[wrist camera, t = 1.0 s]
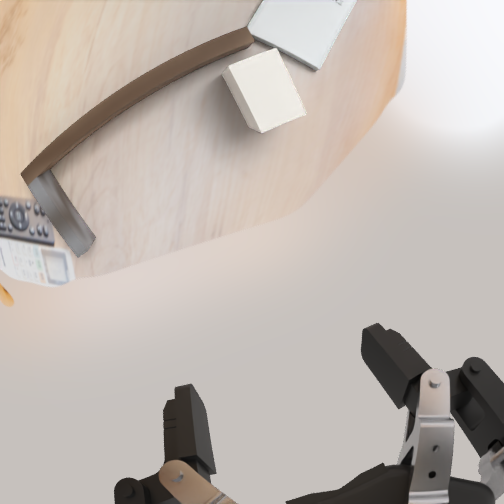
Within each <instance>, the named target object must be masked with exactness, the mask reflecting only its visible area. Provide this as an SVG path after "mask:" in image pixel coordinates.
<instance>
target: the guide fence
mask: <svg viewBox="0 0 504 504" xmlns="http://www.w3.org/2000/svg"><path fill="white" fill-rule="evenodd" d="M254 41H255V40H254V39H253V37H252V35H251V33H250V31H249V29H248V27H244V28H241V29H238V30H235V31H233V32H230V33H228V34H225V35H222V36H220V37H218V38H215V39H213V40H210V41H208V42H206V43H203V44H201V45H199V46H197V47H195V48H193V49H190V50H188V51H186V52H184V53H182V54H180V55H178V56H176V57H174V58H172V59H170V60H168V61H167V62H165V63H163V64H161V65H159V66H157V67H156V68H154V69H152V70H150V71H149V72H147V73H145V74H144V75H142V76H140V77H139V78H137V79H135V80H134V81H132V82H130V83H129V84H127V85H126V86H124V87H123V88H121V89H120V90H118V91H117V92H115V93H114V94H112V95H111V96H109V97H108V98H106V99H105V100H104V101H102V102H101V103H100V104H98V105H97V106H95V107H94V108H93V109H91V110H90V111H89V112H88V113H86V114H85V115H84V116H82V117H81V118H80V119H79V120H77V121H76V122H75V123H74V124H72V125H71V126H70V127H69V128H68V129H67V130H65V131H64V132H63V133H62V134H61V135H60V136H58V137H57V138H56V139H55V140H54V141H53V142H52V143H51V144H50V145H49V146H47V147H46V148H45V149H44V150H43V151H42V152H41V153H40V154H39V155H38V156H37V157H36V158H35V159H34V160H33V161H32V162H31V163H30V164H29V165H28V166H27V167H26V168H25V169H24V170H23V171H22V173H21V176H22V178H23V179H24V181H25V183H26V184H27V186H28V188H29V189H30V191H31V192H32V194H33V195H34V197H35V199H36V200H37V202H38V203H39V205H40V206H41V208H42V209H43V211H44V212H45V214H46V215H47V217H48V218H49V220H50V221H51V222H52V224H53V225H54V227H55V228H56V229H57V231H58V232H59V233H60V235H61V236H62V238H63V239H64V240H65V242H66V243H67V244H68V246H69V247H70V248H71V249H72V251H73V252H74V253H75V255H76V256H77V257H80V256H81V255H83V254H84V253H85V252H87V251H88V250H89V248H90V246H91V245H92V243H93V241H94V240H95V238H96V237H95V236H94V234H93V233H92V231H91V230H90V229H89V227H88V226H87V225H86V223H85V222H84V220H83V219H82V218H81V216H80V215H79V213H78V212H77V210H76V209H75V207H74V206H73V205H72V203H71V202H70V200H69V199H68V197H67V196H66V194H65V192H64V191H63V189H62V188H61V186H60V185H59V183H58V182H57V180H56V178H55V177H54V175H53V174H52V172H51V170H50V169H51V168H52V167H53V166H54V165H55V164H56V163H57V162H58V161H59V160H61V159H62V158H63V157H64V156H65V155H66V154H68V153H69V152H70V151H71V150H72V149H73V148H75V147H76V146H77V145H78V144H80V143H81V142H82V141H83V140H85V139H86V138H87V137H89V136H90V135H91V134H92V133H94V132H95V131H96V130H98V129H99V128H100V127H102V126H103V125H105V124H106V123H107V122H109V121H110V120H112V119H113V118H114V117H116V116H117V115H119V114H120V113H122V112H123V111H125V110H126V109H128V108H129V107H131V106H133V105H134V104H136V103H137V102H139V101H140V100H142V99H144V98H145V97H147V96H149V95H150V94H152V93H154V92H155V91H157V90H159V89H161V88H162V87H164V86H166V85H168V84H170V83H171V82H173V81H175V80H177V79H179V78H181V77H183V76H185V75H187V74H189V73H191V72H193V71H195V70H197V69H199V68H201V67H203V66H205V65H207V64H210V63H212V62H214V61H216V60H219V59H221V58H223V57H226V56H228V55H230V54H233V53H235V52H238V51H240V50H243V49H245V48H248V47H249V46H250V45H251V44H252V43H253V42H254Z"/></svg>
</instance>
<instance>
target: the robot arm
mask: <svg viewBox="0 0 504 504" xmlns="http://www.w3.org/2000/svg"><path fill="white" fill-rule="evenodd" d="M361 354H362V358H363V360H364V362H365V363H366V365H367V366H368V367H369V369H370V370H371V371H372V373H373V374H374V376H375V377H376V378H377V380H378V381H379V383H380V384H381V385H382V387H383V388H384V390H385V391H386V392H387V394H388V395H389V397H390V398H391V399H392V400H393V402H394V404H395V405H396V406H397V408H398V409H400V408H402V407H403V406H405V405H406V406H407V408H408V413H407V421H406V428H405V435H404V441H403V446H402V449H401V452H400V455H399V458H398V463H397V465H389V466H385V465H384V463H382V464H380V465H378V466H376V467H374V468H372V469H370V470H367V471H365V472H363V473H361V474H360V475H358V476H357V477H356V478H354V479H353V480H352V481H350V482H349V483H347V484H346V485H345V486H343V487H342V488H340V489H338V490H333V491H327V492H320V493H313V494H308V495H305V496H302V497H299V498H296V499H292V500H289V501H286V504H495V500H496V499H497V498H499V497H500V496H501V495H502V494H503V493H504V383H503V382H502V381H501V380H500V378H499V377H498V376H497V375H496V374H495V373H494V372H493V370H492V369H491V368H490V367H489V366H488V365H487V364H486V363H485V361H483V360H482V359H480V358H478V357H471V358H468V359H467V360H466V361H465V362H464V364H463V366H462V367H461V368H458V369H455V370H451V371H447V372H444V371H443V370H440V369H432V368H431V367H430V366H429V365H428V364H427V363H426V362H425V360H424V359H423V358H422V357H421V356H420V355H419V354H418V353H417V352H416V351H415V349H414V348H413V347H411V345H410V344H409V343H408V342H406V340H405V339H404V338H403V337H402V336H401V334H400V333H398V332H396V331H394V330H392V329H389V330H387V331H386V330H385V329H384V328H383V327H382V326H381V325H380V324H379V323H376V324H374V325H371V326H369V327H367V328H364V329H363V331H362V344H361ZM450 413H451V414H452V416H453V417H454V418H455V420H456V421H457V423H458V424H459V426H460V427H461V428H462V430H463V431H464V433H465V434H466V436H467V438H468V439H469V441H470V442H471V444H472V445H473V447H474V448H475V450H476V451H477V453H478V455H479V456H480V458H481V459H480V462H479V470H478V472H479V474H480V475H481V482H475V481H470V480H465V479H460V478H455V477H451V476H450V474H451V466H452V456H453V444H454V420H453V419H451V418H450ZM163 418H164V419H163V420H164V424H163V425H164V452H165V461H164V464H163V466H162V467H161V468H160V470H159V471H158V472H157V473H156V474H154V475H152V476H149V477H147V478H144V479H141V480H139V481H138V480H136V479H133V478H124V479H121V480H120V481H119V482H118V483H117V484H116V486H115V489H114V498H115V504H237V503H236V502H235V501H233V500H232V499H230V498H229V497H228V496H226V495H225V494H224V493H222V492H221V491H219V490H218V489H217V488H216V487H214V486H213V485H212V484H211V480H210V475H212V474H216V468H215V463H214V458H213V452H212V446H211V440H210V433H209V427H208V420H207V413H206V409H205V406H204V404H203V402H202V400H201V398H200V397H199V395H198V393H197V392H196V390H195V388H194V387H193V385H192V384H188V385H183V386H178V387H175V399H172V400H168V401H167V403H166V405H165V408H164V410H163Z"/></svg>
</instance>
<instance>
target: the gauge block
mask: <svg viewBox="0 0 504 504" xmlns="http://www.w3.org/2000/svg"><path fill="white" fill-rule="evenodd" d="M222 76H223V78H224V80H225V82H226V84H227V85H228V87H229V89H230V91H231V93H232V95H233V97H234V99H235V101H236V103H237V105H238V107H239V109H240V111H241V113H242V115H243V117H244V119H245V121H246V123H247V125H248V127H249V128H251V129H254V130H256V131H258V132H260V133H264V132H266V131H268V130H271V129H273V128H275V127H277V126H280V125H282V124H284V123H287V122H289V121H291V120H294V119H296V118H299V117H301V116H303V115H306V114H307V113H306V111H305V108H304V106H303V104H302V101H301V99H300V97H299V94H298V92H297V90H296V88H295V85H294V83H293V81H292V79H291V77H290V74H289V72H288V70H287V68H286V66H285V64H284V62H283V60H282V58H281V56H280V54H279V52H278V50H277V48H274V49H271V50H268V51H265V52H262V53H260V54H257V55H254V56H252V57H249V58H246V59H244V60H241V61H239V62H236V63H234V64H232V65H229V66H228V67H227V68H226V69H225V70H224V72H223V73H222Z"/></svg>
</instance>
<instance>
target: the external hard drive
mask: <svg viewBox="0 0 504 504" xmlns="http://www.w3.org/2000/svg"><path fill="white" fill-rule="evenodd" d="M356 1H357V0H263V1H262V3H261V4H260V6H259V8H258V9H257V11H256V12H255V14H254V16H253V17H252V19H251V21H250V22H249V24H248V26H247V27H248V29H249V31H250V33H251V35H252V37H253V39H256V40H258V41H260V42H262V43H264V44H267V45H269V46H271V47H273V48H277V50H279V51H281V52H283V53H285V54H287V55H289V56H291V57H293V58H294V59H296V60H298V61H300V62H302V63H303V64H305V65H307V66H309V67H311V68H312V69H314V70H316V71H317V70H320V68H321V66H322V65H323V63H324V61H325V59H326V57H327V55H328V53H329V51H330V49H331V47H332V46H333V44H334V42H335V40H336V38H337V36H338V34H339V32H340V30H341V29H342V27H343V25H344V23H345V21H346V19H347V18H348V16H349V14H350V12H351V10H352V8H353V7H354V5H355V3H356Z"/></svg>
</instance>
